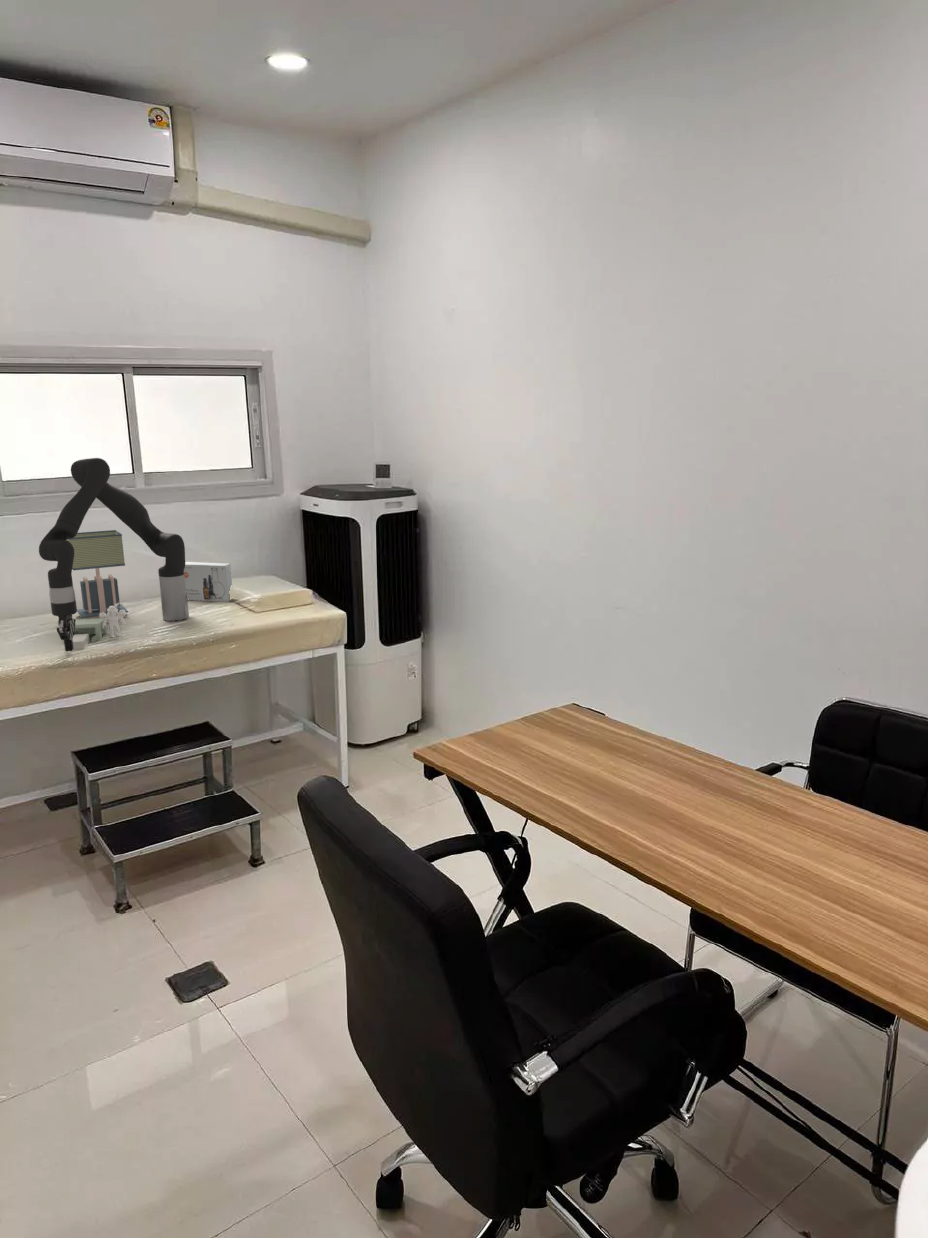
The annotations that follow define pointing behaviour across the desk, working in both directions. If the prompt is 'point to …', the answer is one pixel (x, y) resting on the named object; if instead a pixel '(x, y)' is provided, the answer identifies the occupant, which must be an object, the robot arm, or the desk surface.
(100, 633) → the shelf
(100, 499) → the robot arm
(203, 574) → the skincare box
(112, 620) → the hat wearing toy figure
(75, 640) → the cover plate
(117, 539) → the desk lamp
